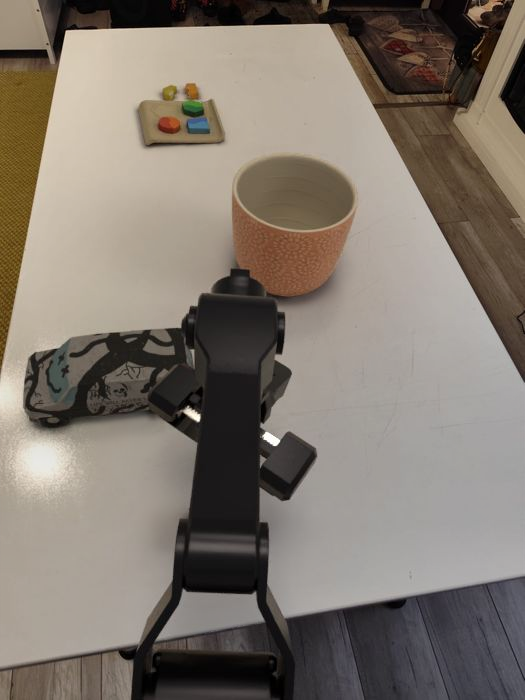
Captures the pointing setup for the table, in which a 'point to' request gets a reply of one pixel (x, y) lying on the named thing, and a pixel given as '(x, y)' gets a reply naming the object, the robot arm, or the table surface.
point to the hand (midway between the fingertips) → (228, 459)
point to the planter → (291, 220)
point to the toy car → (100, 374)
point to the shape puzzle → (180, 119)
